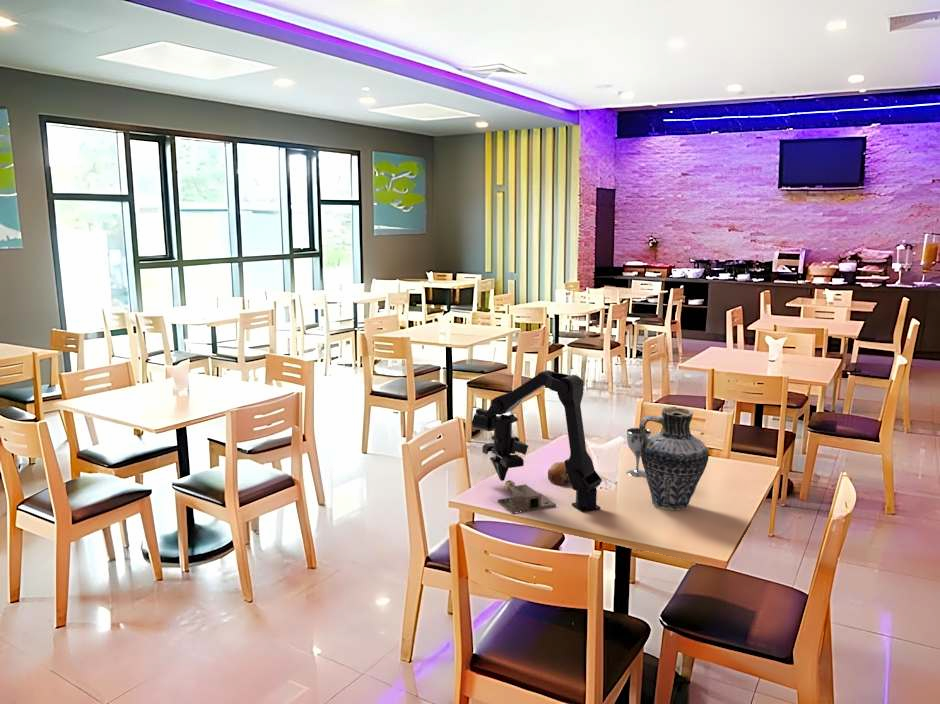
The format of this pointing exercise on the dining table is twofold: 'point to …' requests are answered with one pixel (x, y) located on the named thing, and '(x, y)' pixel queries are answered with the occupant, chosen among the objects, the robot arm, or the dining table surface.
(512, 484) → the pin
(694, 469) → the jug
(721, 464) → the dining table surface
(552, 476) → the bread roll
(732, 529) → the dining table surface
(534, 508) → the hinge
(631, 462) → the dining table surface
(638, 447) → the wine glass
